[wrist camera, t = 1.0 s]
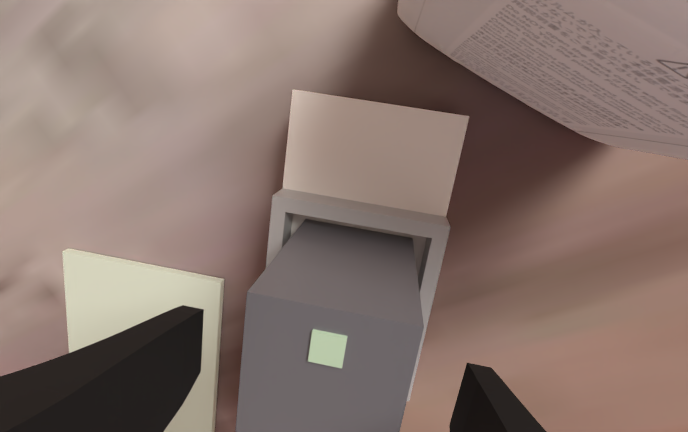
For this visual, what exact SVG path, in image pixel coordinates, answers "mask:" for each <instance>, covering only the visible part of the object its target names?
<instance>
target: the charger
mask: <svg viewBox="0 0 688 432" xmlns="http://www.w3.org/2000/svg"><path fill="white" fill-rule="evenodd" d="M423 329H424V323H423V315H422V307H421V300H420V292H419V284H418V276H417V269H416V261H415V253H414V245H413V238H410V237H404V236H399V235H393V234H388V233H382V232H377V231H371V230H366V229H360V228H354V227H349V226H343V225H338V224H332V223H327V222H321V221H316V220H310V219H305V220H304V222H303V223H302V224H301V225H300V227H299V228H298V229H297V230H296V231H295V233H294V234H293V235H292V236H291V238H290V239H289V240H288V241H287V243H286V244H285V245H284V246H283V248H282V249H281V250H280V251H279V253H278V254H277V255H276V256H275V258H274V259H273V260H272V261H271V263H270V264H269V265H268V266H267V268H266V269H265V270H264V271H263V273H262V274H261V275H260V276H259V278H258V279H257V280H256V281H255V283H254V284H253V285H252V286H251V288H250V289H249V290H248V291H247V299H246V311H245V323H244V335H243V347H242V359H241V371H240V383H239V395H238V407H237V419H236V431H235V432H399V431H400V427H401V423H402V418H403V414H404V410H405V406H406V401H407V397H408V393H409V389H410V384H411V380H412V376H413V372H414V367H415V363H416V359H417V355H418V350H419V346H420V342H421V338H422V333H423Z"/></svg>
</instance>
